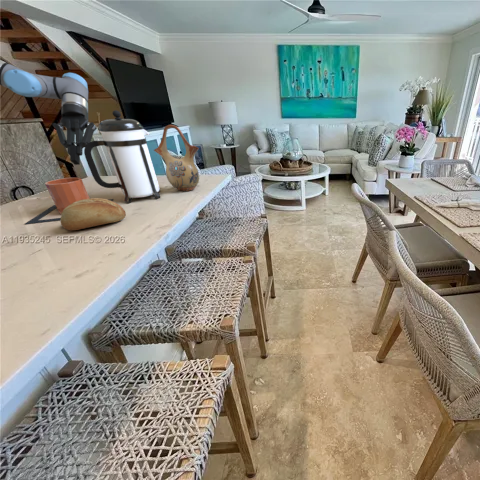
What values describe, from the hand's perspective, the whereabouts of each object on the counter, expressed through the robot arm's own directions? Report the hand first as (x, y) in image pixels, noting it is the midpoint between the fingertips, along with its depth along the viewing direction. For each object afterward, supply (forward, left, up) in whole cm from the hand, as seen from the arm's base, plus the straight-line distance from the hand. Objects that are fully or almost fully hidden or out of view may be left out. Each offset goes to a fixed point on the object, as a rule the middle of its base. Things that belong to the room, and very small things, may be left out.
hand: (75, 162), depth 95 cm
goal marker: (0, -14, -13) cm, 19 cm away
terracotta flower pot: (+1, -14, -13) cm, 20 cm away
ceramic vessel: (+34, -3, -14) cm, 37 cm away
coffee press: (+18, -8, -14) cm, 24 cm away
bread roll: (+12, -33, -14) cm, 37 cm away
